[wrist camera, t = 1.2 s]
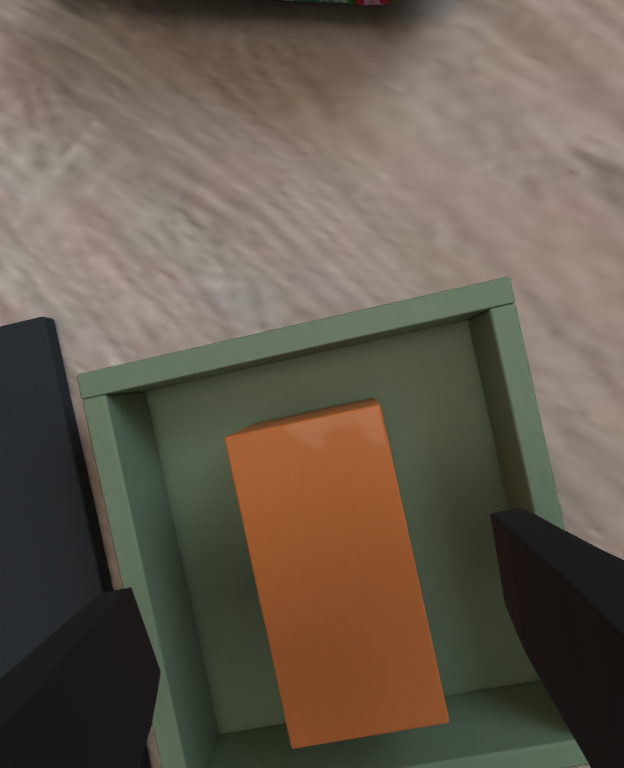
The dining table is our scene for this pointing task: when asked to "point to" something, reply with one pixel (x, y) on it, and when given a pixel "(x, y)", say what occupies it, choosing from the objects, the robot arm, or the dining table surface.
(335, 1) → the snack package
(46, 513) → the mat
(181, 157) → the dining table surface
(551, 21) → the dining table surface
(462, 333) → the green tray
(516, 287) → the dining table surface
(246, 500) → the orange rectangular block
